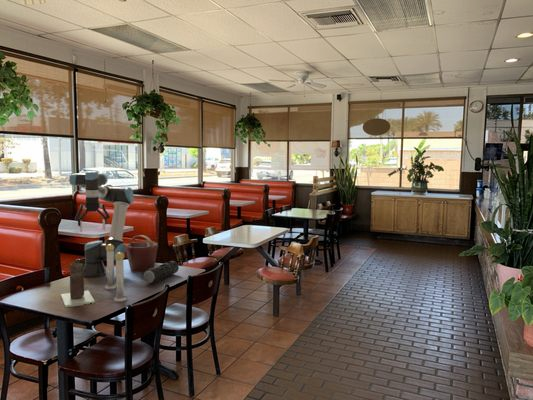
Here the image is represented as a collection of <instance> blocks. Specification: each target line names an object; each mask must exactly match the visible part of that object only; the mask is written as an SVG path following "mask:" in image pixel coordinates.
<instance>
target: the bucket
mask: <svg viewBox="0 0 533 400" xmlns="http://www.w3.org/2000/svg"><path fill="white" fill-rule="evenodd" d="M138 237H141V238H143V239H145V240H146V241H136V242H134V241H135V240H137V238H138ZM125 246H126V252H125V253H126V256H127V260H128V265H129V270H130V271H131V270H132V272H133V273H145V271H146V270H148V269H150V268H154V267H155V266H156V265H155V264H156V259H157V252H158V247H159V244H158V242H154V241H152V239H151V238H150V237H148V236H147V235H144V234H140V235H139V234H138V235H134V236H133V237H132V238H131V239H130V240H129V243H128V244H125Z"/></svg>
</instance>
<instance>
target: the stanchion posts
mask: <svg viewBox="0 0 533 400" xmlns="http://www.w3.org/2000/svg"><path fill="white" fill-rule="evenodd" d="M106 251H107V260H106V277H107V279H106V281H107V284H105V285H104V289H105V290H108V291H111V290H112V291H113V290H116V296H114V298H113V301H114V303H123V302H126V301H127V300H128V297H127V295H125V281H124V279H125V278H124V276H125V275H124V274H125V273H124V272H125V270H124V259H125V255H124V254H123V253H122V252H118V253H116V255H115V259H116V261H114V246H113V245H112V244H108V245H107V246H106ZM114 263H115V264H114ZM115 271H116V273H115ZM115 274H116V275H115ZM115 278H116V280H115ZM115 281H116V283H115Z"/></svg>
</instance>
